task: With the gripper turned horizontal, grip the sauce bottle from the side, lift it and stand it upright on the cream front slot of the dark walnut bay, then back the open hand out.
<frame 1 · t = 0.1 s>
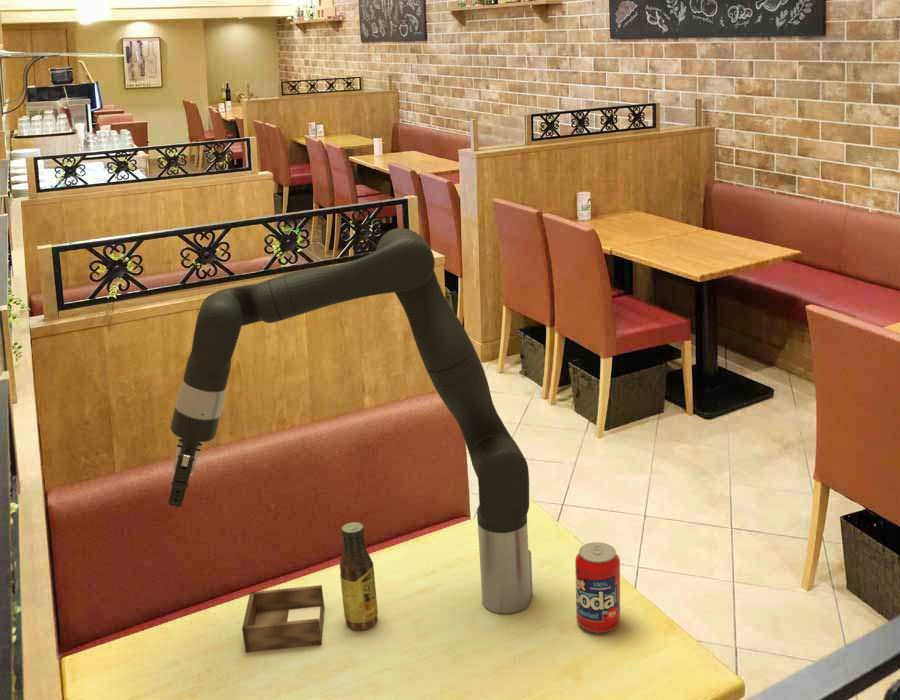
hand: (177, 493, 158), 31 cm above the table, tool tilted 20°, fingers open, 8 cm apart
sauce bottle: (362, 622, 173), on the table
soda can: (598, 624, 168), on the table
walnut bay: (286, 629, 172), on the table
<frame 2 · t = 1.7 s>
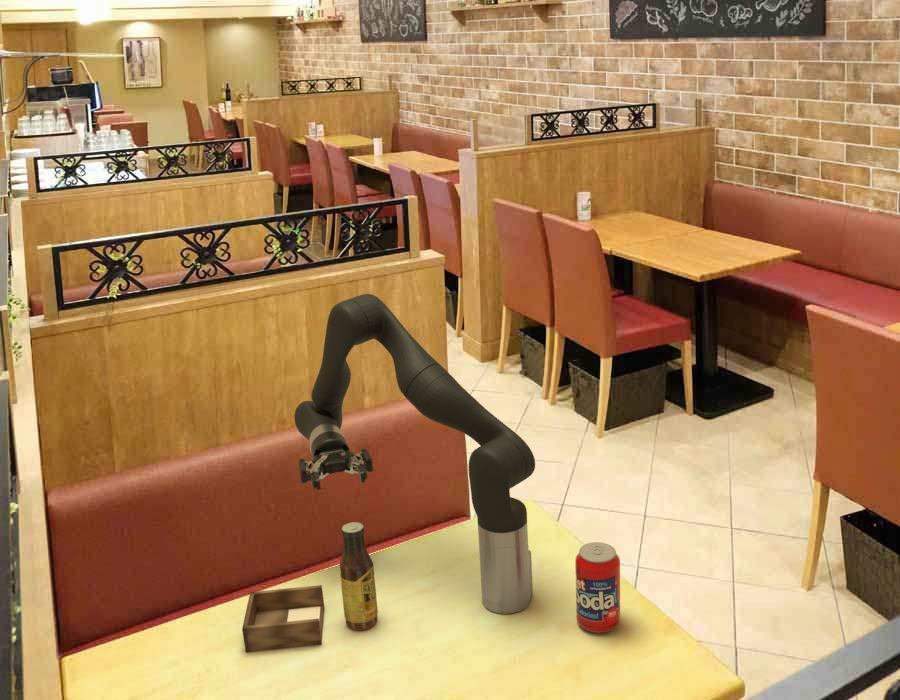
hand: (340, 481, 175), 24 cm above the table, tool horizontal, fingers open, 8 cm apart
nothing on the table moved.
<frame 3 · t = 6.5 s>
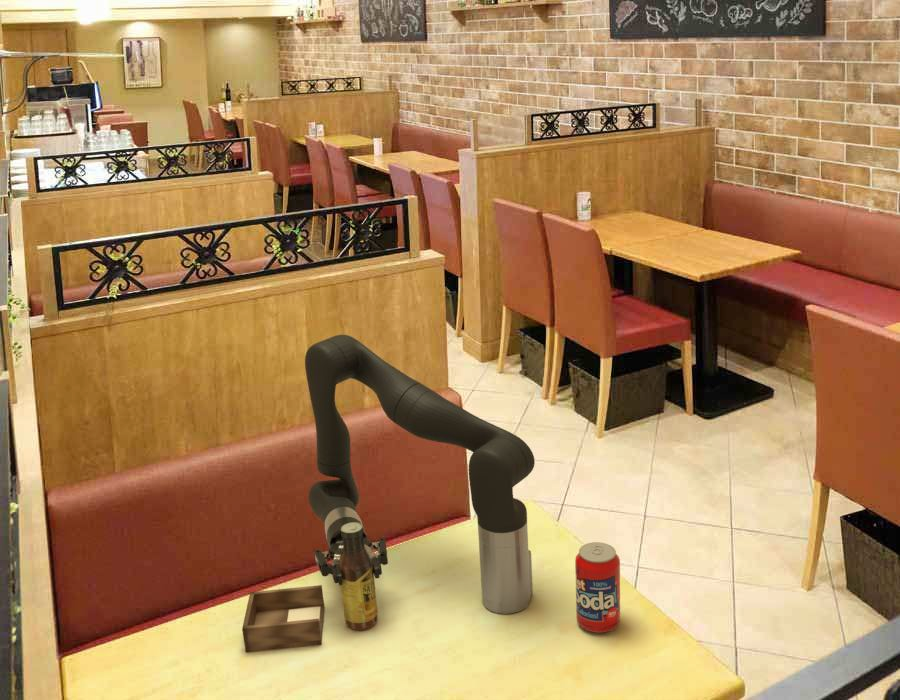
hand: (359, 577, 167), 11 cm above the table, tool horizontal, fingers closed on sauce bottle, 6 cm apart
sauce bottle: (362, 622, 173), on the table, touching gripper
everything else where it was.
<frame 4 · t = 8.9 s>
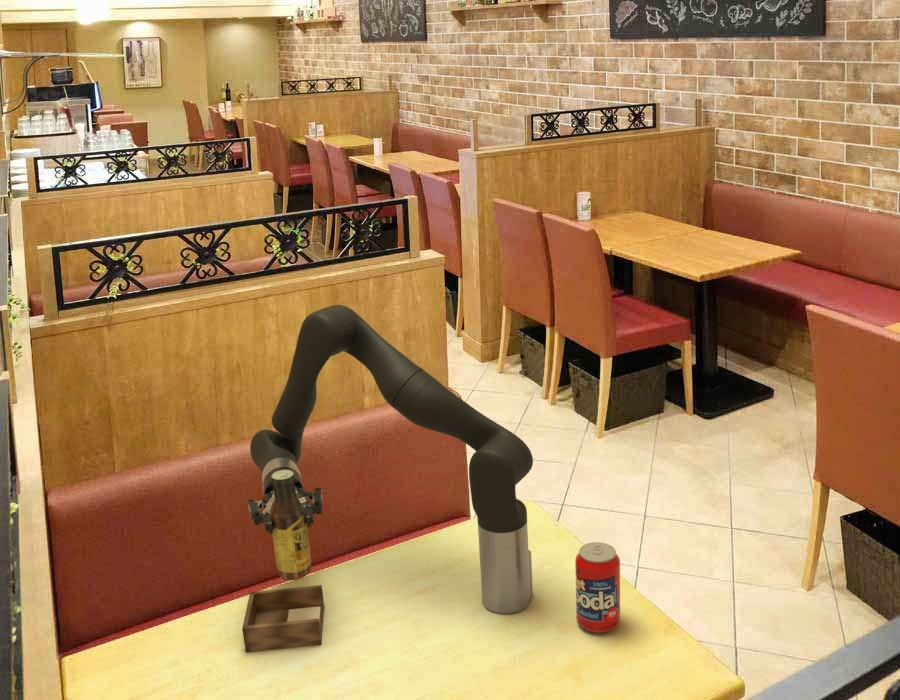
hand: (289, 525, 163), 23 cm above the table, tool horizontal, fingers closed on sauce bottle, 6 cm apart
sauce bottle: (295, 572, 169), point 12 cm above the table, touching gripper
everything else where it was.
when the fingers open (13 cm above the table, at t = 11.6 s): sauce bottle stays where it is, resting on walnut bay.
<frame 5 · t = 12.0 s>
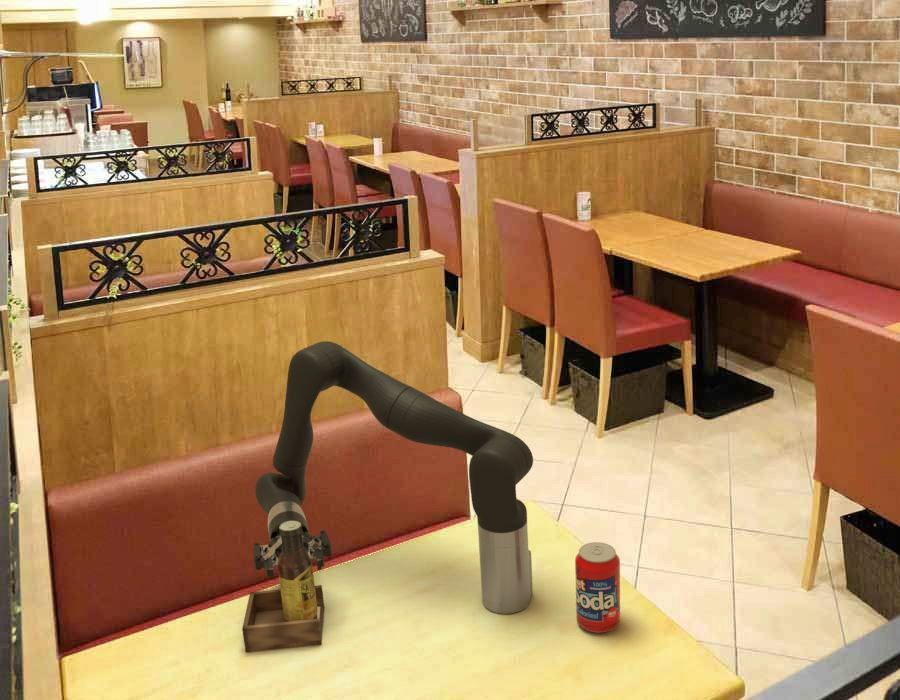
hand: (295, 570, 166), 13 cm above the table, tool horizontal, fingers open, 8 cm apart
sauce bottle: (302, 622, 172), point 1 cm above the table, touching walnut bay
everything else where it was.
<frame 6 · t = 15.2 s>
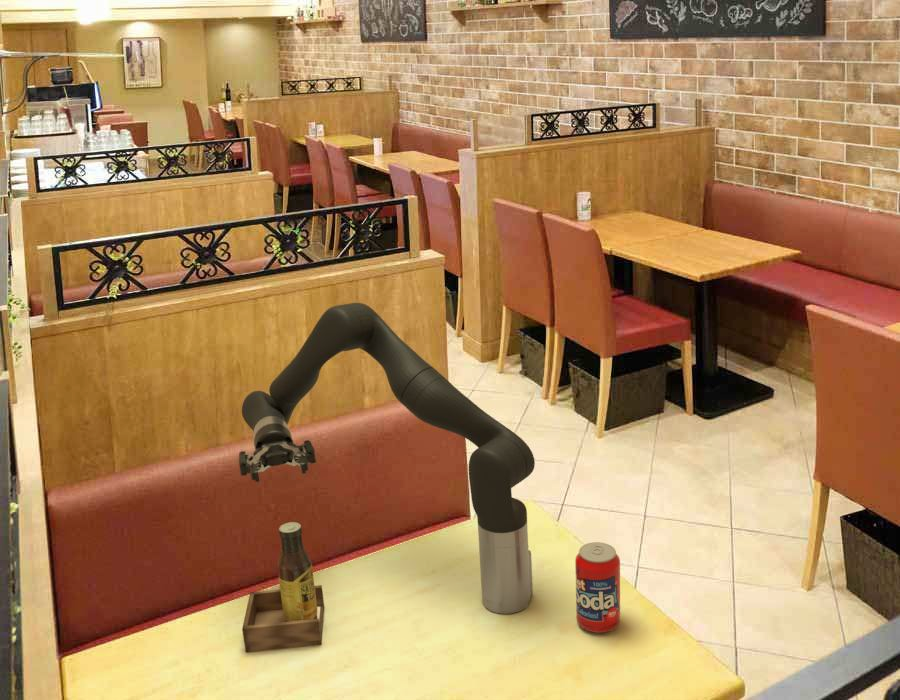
hand: (280, 473, 170), 28 cm above the table, tool horizontal, fingers open, 8 cm apart
nothing on the table moved.
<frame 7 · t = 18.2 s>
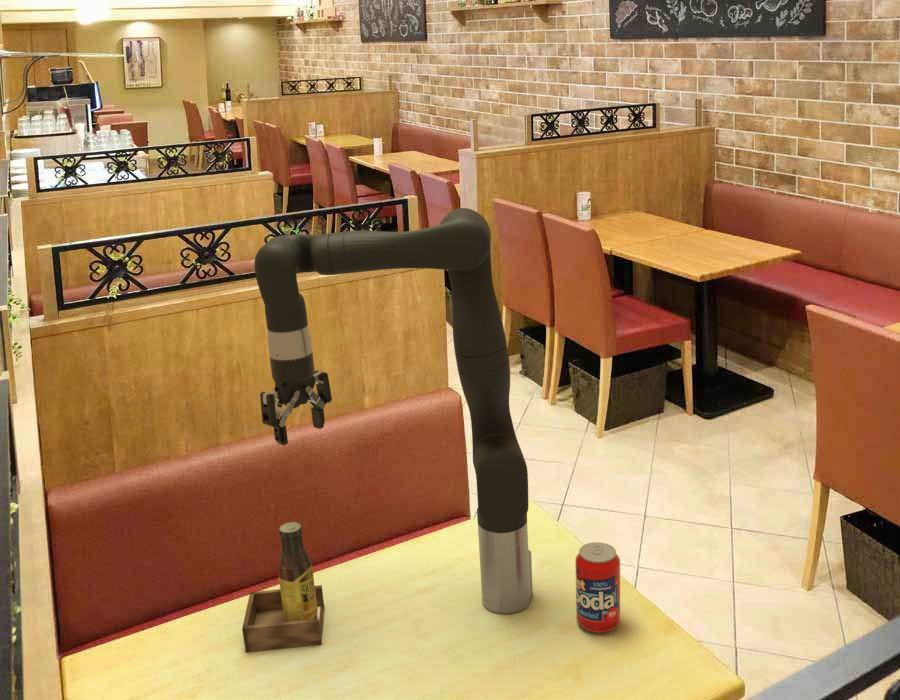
hand: (301, 435, 167), 36 cm above the table, tool pointing down, fingers open, 8 cm apart
nothing on the table moved.
at the end: sauce bottle inside the target area on the walnut bay (0.6 cm from its centre), point 0.9 cm above the walnut bay's base; sauce bottle tilted 0°; the gripper is holding nothing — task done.
